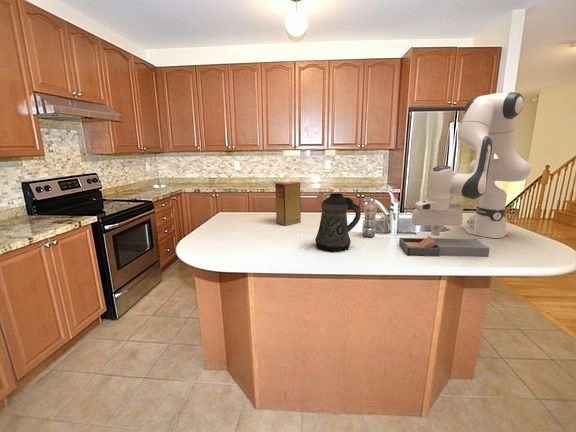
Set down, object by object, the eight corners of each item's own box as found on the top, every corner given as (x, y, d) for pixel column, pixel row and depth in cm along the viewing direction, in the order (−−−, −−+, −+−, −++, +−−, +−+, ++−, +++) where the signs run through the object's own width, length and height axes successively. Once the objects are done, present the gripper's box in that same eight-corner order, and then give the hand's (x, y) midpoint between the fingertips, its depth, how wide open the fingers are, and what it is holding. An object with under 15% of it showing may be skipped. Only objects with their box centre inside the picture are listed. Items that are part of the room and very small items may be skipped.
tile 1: (416, 242, 135) (416, 246, 136) (403, 242, 136) (403, 246, 136) (421, 246, 129) (420, 251, 130) (407, 246, 130) (406, 251, 130)
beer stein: (309, 243, 144) (309, 192, 138) (344, 238, 150) (345, 190, 145) (325, 254, 129) (326, 198, 123) (363, 248, 135) (365, 195, 130)
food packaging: (291, 219, 191) (291, 181, 185) (301, 222, 184) (301, 182, 178) (275, 223, 183) (274, 182, 177) (284, 226, 176) (284, 184, 170)
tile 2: (420, 247, 135) (417, 243, 135) (432, 239, 134) (429, 236, 134) (424, 251, 129) (422, 247, 129) (437, 243, 128) (434, 240, 128)
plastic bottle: (360, 236, 154) (361, 198, 149) (366, 233, 159) (368, 196, 154) (371, 239, 149) (373, 200, 145) (377, 236, 154) (380, 198, 149)
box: (399, 244, 140) (399, 237, 139) (427, 245, 139) (428, 238, 138) (407, 255, 127) (407, 247, 126) (439, 256, 125) (439, 248, 124)
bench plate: (428, 246, 138) (429, 238, 137) (474, 247, 135) (475, 239, 134) (438, 255, 126) (439, 246, 125) (488, 256, 124) (489, 247, 123)
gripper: (460, 202, 129) (457, 232, 132) (411, 202, 131) (409, 232, 135) (467, 205, 123) (463, 237, 126) (416, 205, 125) (413, 236, 129)
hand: (435, 234), depth 131 cm, fingers closed
